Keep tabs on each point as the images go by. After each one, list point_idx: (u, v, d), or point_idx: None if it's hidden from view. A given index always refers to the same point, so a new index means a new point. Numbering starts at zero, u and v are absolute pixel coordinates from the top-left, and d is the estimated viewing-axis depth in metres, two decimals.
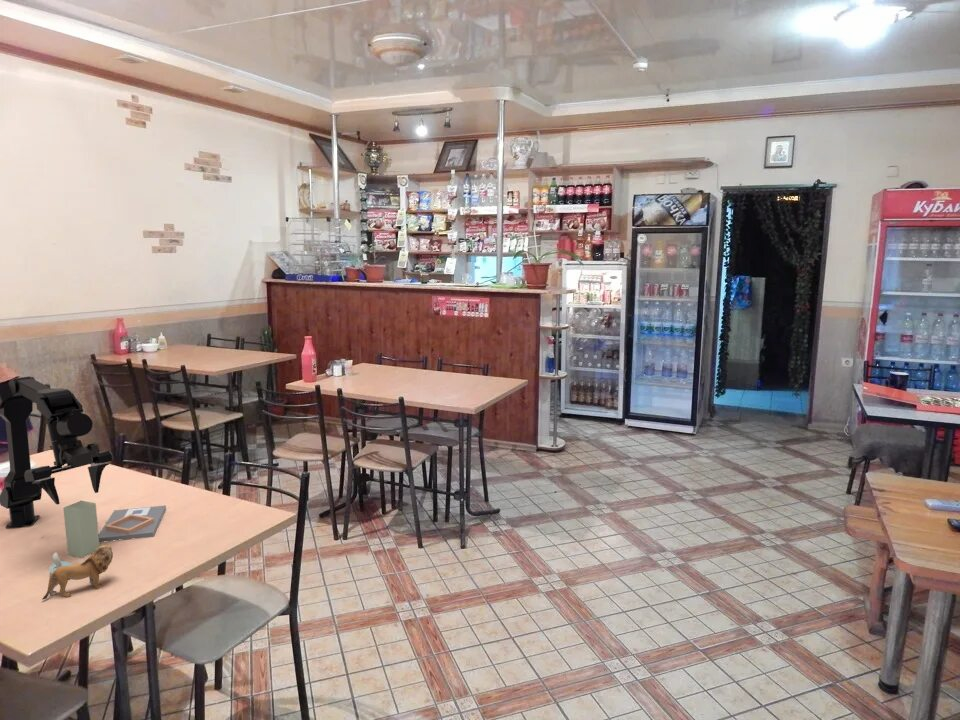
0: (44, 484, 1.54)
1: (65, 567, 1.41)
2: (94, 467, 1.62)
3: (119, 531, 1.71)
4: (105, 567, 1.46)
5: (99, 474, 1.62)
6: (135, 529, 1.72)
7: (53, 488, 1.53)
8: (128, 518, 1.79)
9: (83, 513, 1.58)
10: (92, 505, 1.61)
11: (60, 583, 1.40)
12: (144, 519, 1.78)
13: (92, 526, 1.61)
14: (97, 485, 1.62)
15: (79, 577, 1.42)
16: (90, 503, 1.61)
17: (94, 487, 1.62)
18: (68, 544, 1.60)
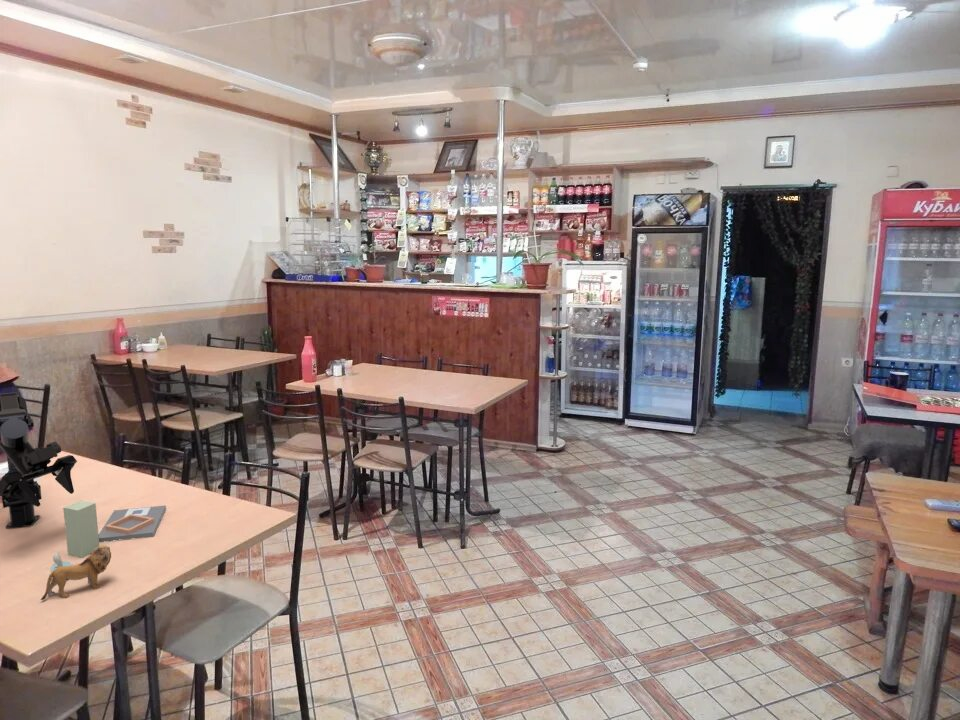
0: (18, 493, 1.58)
1: (63, 567, 1.41)
2: (61, 471, 1.68)
3: (119, 531, 1.71)
4: (103, 567, 1.45)
5: (68, 475, 1.68)
6: (135, 529, 1.72)
7: (28, 490, 1.57)
8: (128, 518, 1.79)
9: (83, 513, 1.58)
10: (92, 505, 1.61)
11: (58, 583, 1.40)
12: (144, 519, 1.78)
13: (92, 526, 1.61)
14: (70, 485, 1.67)
15: (77, 577, 1.42)
16: (90, 503, 1.61)
17: (68, 489, 1.67)
18: (68, 544, 1.60)
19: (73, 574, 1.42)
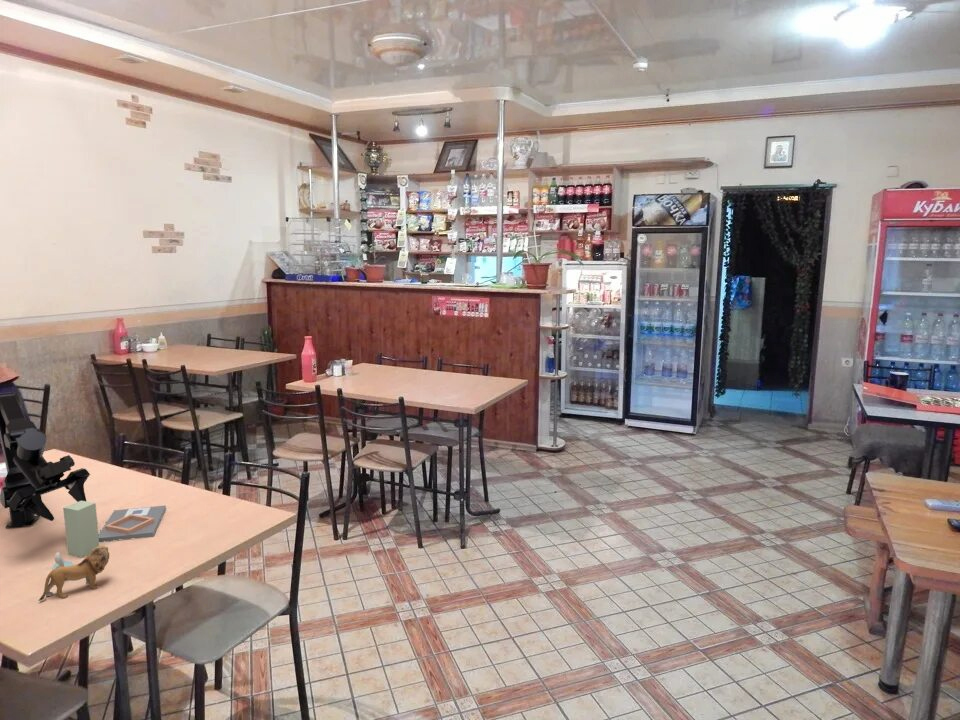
0: (32, 507, 1.57)
1: (62, 568, 1.41)
2: (74, 485, 1.67)
3: (119, 531, 1.71)
4: (102, 567, 1.45)
5: (81, 489, 1.67)
6: (135, 529, 1.72)
7: (42, 505, 1.56)
8: (128, 518, 1.79)
9: (83, 513, 1.58)
10: (92, 505, 1.61)
11: (57, 584, 1.40)
12: (144, 519, 1.78)
13: (92, 526, 1.61)
14: (84, 498, 1.66)
15: (76, 578, 1.42)
16: (90, 503, 1.61)
17: None
18: (68, 544, 1.60)
19: (71, 574, 1.41)
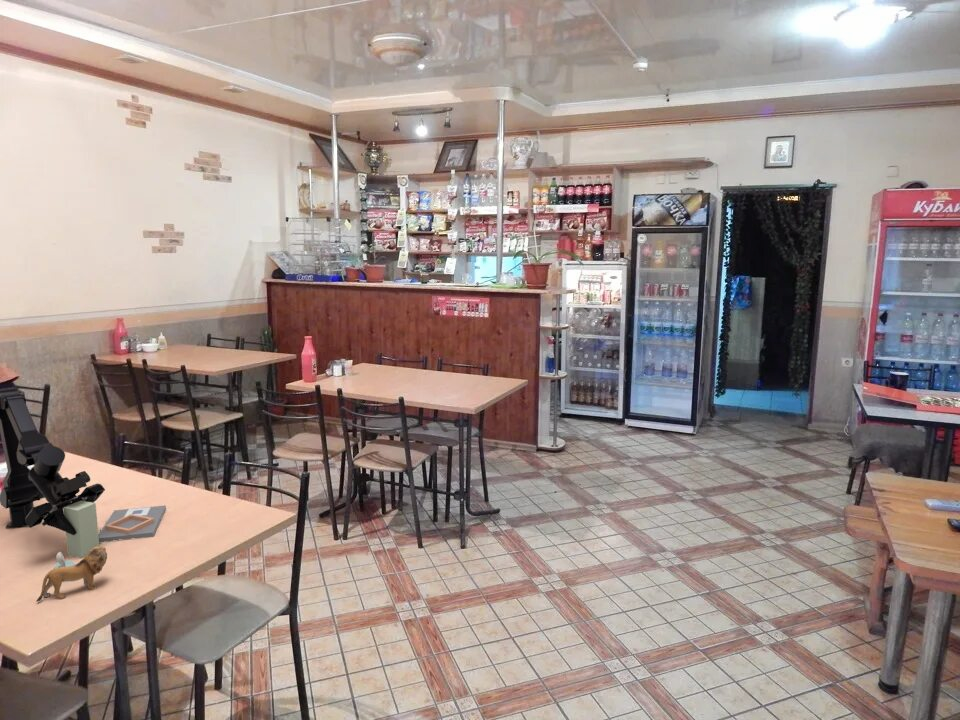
0: (54, 521, 1.57)
1: (59, 569, 1.40)
2: None
3: (119, 531, 1.71)
4: (99, 568, 1.45)
5: None
6: (135, 529, 1.72)
7: (64, 519, 1.57)
8: (128, 518, 1.79)
9: (83, 513, 1.58)
10: (92, 505, 1.61)
11: (54, 585, 1.40)
12: (144, 519, 1.78)
13: (92, 526, 1.61)
14: None
15: (73, 578, 1.42)
16: (90, 503, 1.61)
17: None
18: (68, 544, 1.60)
19: (69, 575, 1.41)
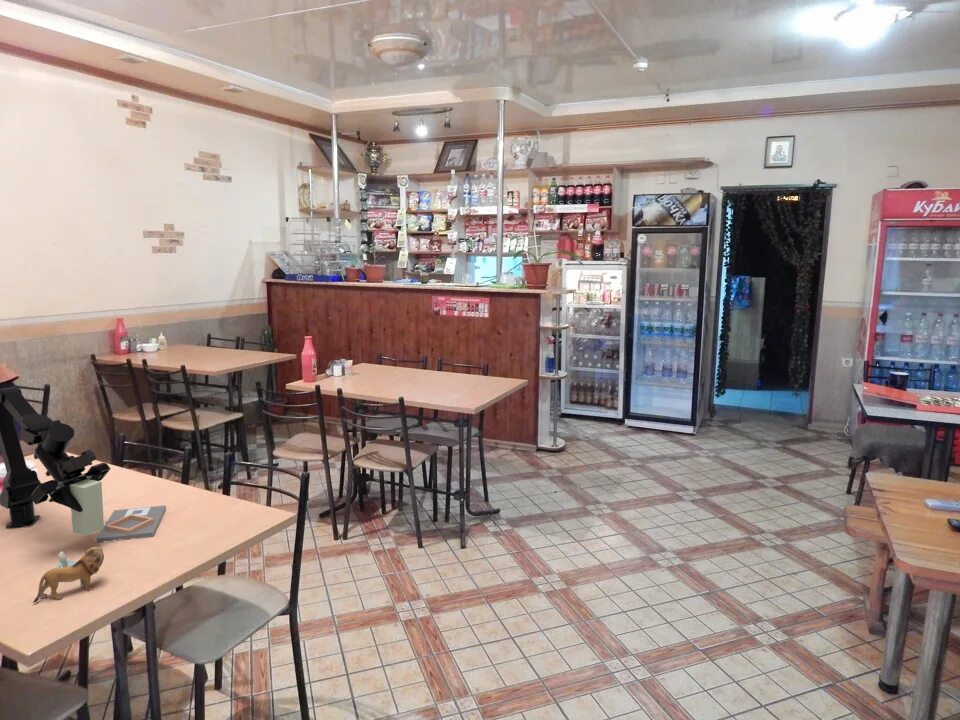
0: (61, 498, 1.59)
1: (56, 569, 1.40)
2: None
3: (119, 531, 1.71)
4: (96, 569, 1.45)
5: None
6: (135, 529, 1.72)
7: (71, 496, 1.59)
8: (128, 518, 1.79)
9: (89, 491, 1.60)
10: (98, 484, 1.62)
11: (51, 586, 1.39)
12: (144, 519, 1.78)
13: (97, 505, 1.62)
14: None
15: (70, 579, 1.41)
16: (96, 482, 1.62)
17: None
18: (73, 522, 1.61)
19: (66, 576, 1.41)
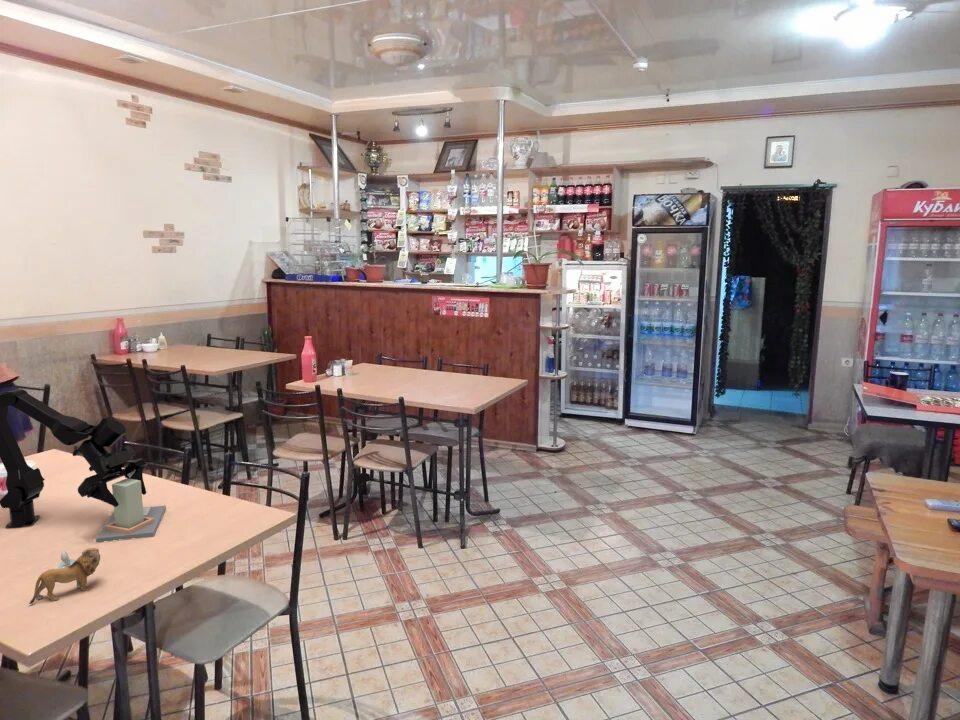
0: (98, 494, 1.69)
1: (52, 570, 1.40)
2: (134, 474, 1.79)
3: (119, 531, 1.71)
4: (93, 569, 1.44)
5: (141, 477, 1.79)
6: (135, 529, 1.72)
7: (108, 492, 1.69)
8: None
9: (130, 489, 1.71)
10: (138, 482, 1.74)
11: (47, 587, 1.39)
12: (144, 519, 1.78)
13: (137, 502, 1.74)
14: (143, 486, 1.78)
15: (67, 580, 1.41)
16: (136, 480, 1.74)
17: None
18: (116, 518, 1.73)
19: (62, 577, 1.40)
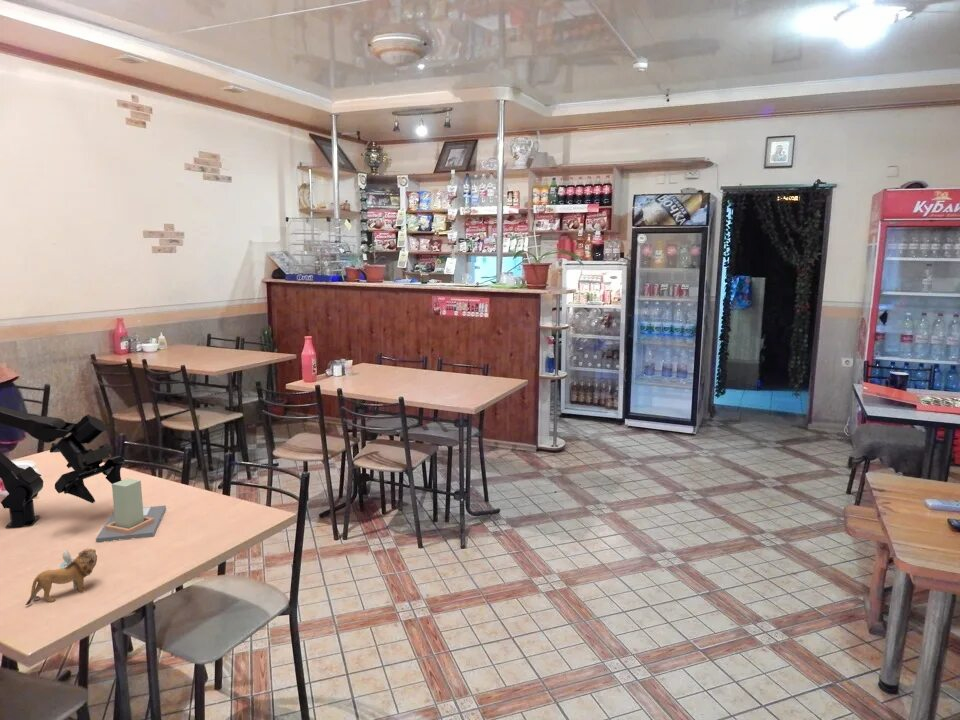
0: (75, 490, 1.71)
1: (49, 571, 1.39)
2: (111, 471, 1.81)
3: (119, 531, 1.71)
4: (90, 570, 1.44)
5: (118, 474, 1.81)
6: (135, 529, 1.72)
7: (84, 488, 1.71)
8: None
9: (130, 489, 1.71)
10: (138, 482, 1.74)
11: (44, 588, 1.38)
12: (144, 519, 1.78)
13: (137, 502, 1.74)
14: None
15: (63, 581, 1.41)
16: (136, 480, 1.74)
17: None
18: (116, 518, 1.73)
19: (59, 578, 1.40)
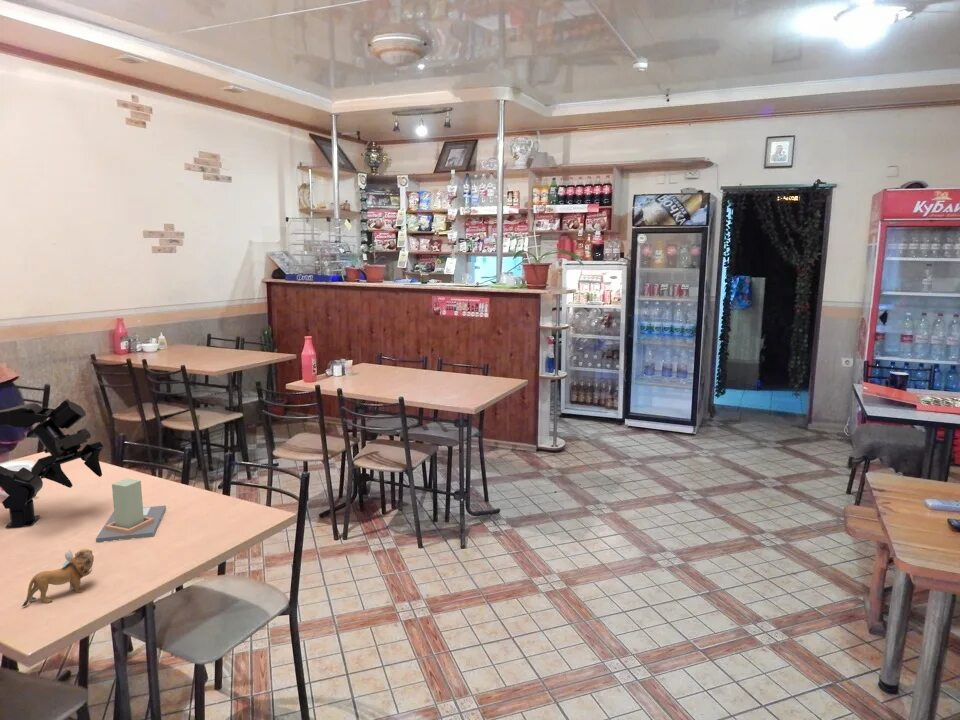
0: (52, 475, 1.70)
1: (45, 572, 1.39)
2: (90, 456, 1.80)
3: (119, 531, 1.71)
4: (86, 571, 1.44)
5: (97, 460, 1.80)
6: (135, 529, 1.72)
7: (61, 473, 1.70)
8: None
9: (130, 489, 1.71)
10: (138, 482, 1.74)
11: (40, 589, 1.38)
12: (144, 519, 1.78)
13: (137, 502, 1.74)
14: (99, 469, 1.80)
15: (60, 582, 1.40)
16: (136, 480, 1.74)
17: (97, 472, 1.79)
18: (116, 518, 1.73)
19: (55, 579, 1.39)
